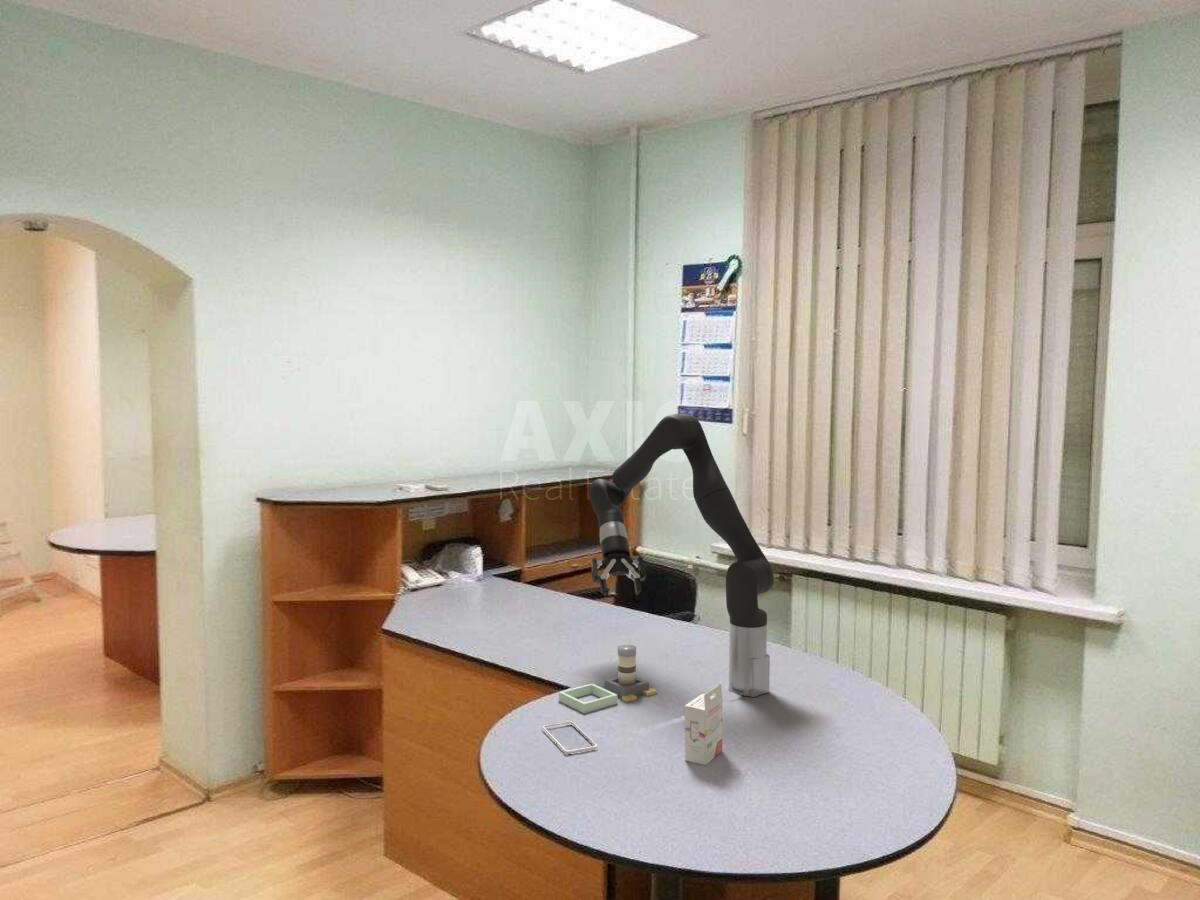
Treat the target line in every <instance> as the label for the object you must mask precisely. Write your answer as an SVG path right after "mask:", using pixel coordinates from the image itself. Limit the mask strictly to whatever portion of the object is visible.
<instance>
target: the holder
mask: <svg viewBox="0 0 1200 900" xmlns="http://www.w3.org/2000/svg"><path fill="white" fill-rule="evenodd" d="M600 687H601V688H604V689H606V690H608V691H610V692H613V693H615V694H617V695H618V700H619V701H622V702H624V703H626V704H628V703H631V702H635V701H638V700H641V699H644V698H649V697H652V696H656V695H658V694H659V693H658V690H657V689H655V688H653V687H652V688H650V682H649V681H648V680H645V679H642V678H640V677H638V676H636V684H633V685H629V686H626V687H625V686H623V685H620V684H618V676H615V677H612V678H609V679H605V680H604V686H600Z"/></svg>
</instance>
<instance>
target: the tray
mask: <svg viewBox="0 0 1200 900" xmlns="http://www.w3.org/2000/svg"><path fill="white" fill-rule="evenodd" d="M601 687H602V686H599V685H597V684H594V683H588V684H585V685H581V686H578V687H574V688H569V689H566V690H563V691H558V702H560V703H562V704H565V705H566V706H568V707H570V708H573V709H575V710H576V711H579V712H581V714H582V713H583V714H586V713H591V712H593V711H597V710H600V709H604V708H608V707H611V706H614V705H617V704H618V702H619V701H618V700H619V699H618V695H617V694H615V693H613V692H610V691H608V690H606V689H604V688H601ZM587 695H594V696H596V697H598V698H596V699H592V700H588V701H582V700H581V699H578V698H581V697H584V696H587Z"/></svg>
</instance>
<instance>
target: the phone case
mask: <svg viewBox="0 0 1200 900" xmlns="http://www.w3.org/2000/svg"><path fill="white" fill-rule="evenodd" d="M569 723H571V724H573V725H574V726H575V727H576V728H577V729H578V730H579V731H580V732H581V733H582V734H583V735H584V736H585V737H586V738H587V739H588V740H589V741H590V742H591V743H592V744H593V745H594V746H593V745H591V746H587V747H582V748H576V749H570V750H567V749H565V747H564V746H563V745H562V744H561V743H560V742H559V741H558V740H557V739H556V738H555V737H554V735H552V734H551V733H550V732H549V730H548V729H546V728H545V727H554V725H555V726H560V724H561V725H567V724H569ZM543 729H544V730H545V731H546V733H548V735H549V736H550V737H551V738H552V739H553V740H554V741H555V742H556V744H557V745H556V746H558V747H559V748H560V749H561V750H562V753H563V752H564V753H566V754H571V753H577V752H583V751H589V750H595V749H597V750H598V744H597V743H595V741H593V739H592V738H591V737H590V736H589V735H588V734H586V732H584V730H582V729H581V728H580V727H579V726H578V725H577V724H576V723H575V722H573V721H571V720H570V721H565V722H558V723H553V724H547V725H543V726H542V730H543ZM595 751H596V750H595ZM589 752H590V751H589ZM564 753H563V754H564Z"/></svg>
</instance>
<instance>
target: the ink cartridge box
mask: <svg viewBox="0 0 1200 900" xmlns="http://www.w3.org/2000/svg"><path fill="white" fill-rule="evenodd" d="M713 694H715V695H713ZM723 705H724V704H723V689H722V684H721V683H719V684H718V685H717V686H715V687H713V688H711V689H710V690H708V692H706V693H701V694H700V695H698V696H696V697H695V698H694V699H693V700H691V701H689V702H688V703H687V704H685V705H684V761H686V762H690V763H695V764H698V765H701V766H702V765H703V766H706V765H708V764H709V763H710V762H711V761H712V760H714V758H716V757H717V756H718V755H719V754H720V753H721V752H722V751H723V709H724V708H723Z"/></svg>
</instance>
